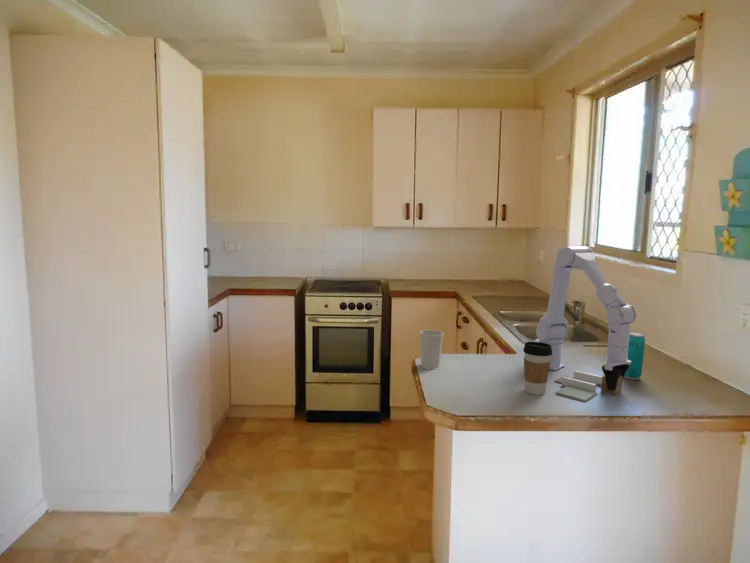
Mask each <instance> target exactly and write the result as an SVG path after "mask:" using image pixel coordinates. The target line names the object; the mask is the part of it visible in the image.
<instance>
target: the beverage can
mask: <svg viewBox="0 0 750 563" xmlns="http://www.w3.org/2000/svg"><path fill="white" fill-rule="evenodd" d="M645 336H646V334H644V333H642V332H638V331H630V336H629V346H628V360H630V361H631V364H630V367H629V368H628V370H627V371H626V373H625V376H624V379H627V380H633V381H636V380H637V381H638V380H639V379H641V376H642V375H643V365H644V355H645V347H646V346H645V345H646V337H645Z"/></svg>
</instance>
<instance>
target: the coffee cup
mask: <svg viewBox="0 0 750 563" xmlns="http://www.w3.org/2000/svg"><path fill="white" fill-rule="evenodd" d="M522 352H523V353H524V357H523V367H524V368H523V372H524V392H525V393H527V394H530V395H533V396H534V395H535V396H541V395H544V394H546V389H547V388H546V387H547V383H548V382H547V381H548V378H549V371H550V369H549V367H550V357H551V355H552V347H551V345H549V344H546V343H541V342H534V341H526V342H524V347H523V350H522Z"/></svg>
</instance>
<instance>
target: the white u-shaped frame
mask: <svg viewBox="0 0 750 563" xmlns="http://www.w3.org/2000/svg"><path fill="white" fill-rule="evenodd" d="M602 376H603V375H602ZM602 376H601V375H597V374H592V373H589V372H584V371H579V370H574V372H573V376H569V375H562V376H561V377H559V378H557V379H556V380H554V383H559V384H561V385H562V386H564V387H566V386H567V385H570V386H574V387H578V388H582V389H586V390H590V391H594V392H597V391H596V390H597V385H599V386H601V385H602Z"/></svg>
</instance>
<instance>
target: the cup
mask: <svg viewBox="0 0 750 563" xmlns="http://www.w3.org/2000/svg"><path fill="white" fill-rule="evenodd" d="M419 336H420V338H419V339H420V358H421V359H420V363H421V368H422V367H423V368H422V369H425V368H428V369H427V370H436V369H435V368H438V367H439V366H440V363H441V356H442V347H443V339H444V332H443V331H441V330H436V329H423V330H420V332H419ZM440 367H441V366H440ZM440 367H439V368H440ZM439 368H438V369H439Z"/></svg>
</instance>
